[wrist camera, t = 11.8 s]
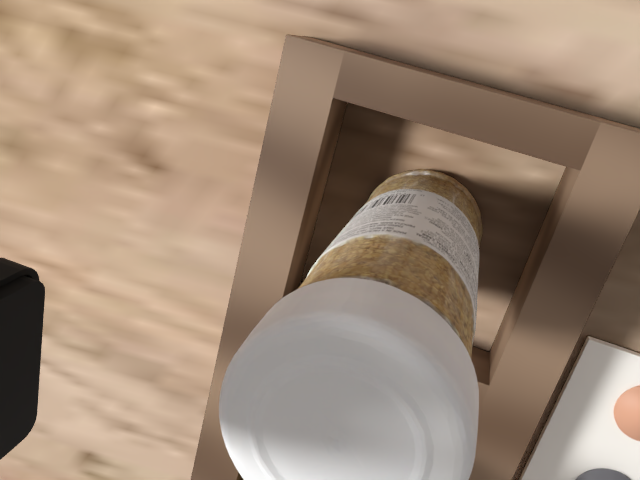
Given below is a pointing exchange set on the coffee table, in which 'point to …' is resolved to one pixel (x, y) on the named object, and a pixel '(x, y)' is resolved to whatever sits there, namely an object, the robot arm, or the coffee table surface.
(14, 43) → the coffee table surface
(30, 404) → the robot arm
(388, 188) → the sprinkles bottle
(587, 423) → the card
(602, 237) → the bottle rack
